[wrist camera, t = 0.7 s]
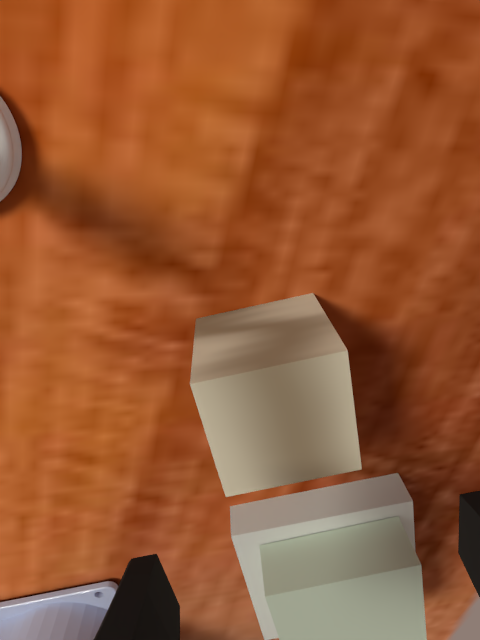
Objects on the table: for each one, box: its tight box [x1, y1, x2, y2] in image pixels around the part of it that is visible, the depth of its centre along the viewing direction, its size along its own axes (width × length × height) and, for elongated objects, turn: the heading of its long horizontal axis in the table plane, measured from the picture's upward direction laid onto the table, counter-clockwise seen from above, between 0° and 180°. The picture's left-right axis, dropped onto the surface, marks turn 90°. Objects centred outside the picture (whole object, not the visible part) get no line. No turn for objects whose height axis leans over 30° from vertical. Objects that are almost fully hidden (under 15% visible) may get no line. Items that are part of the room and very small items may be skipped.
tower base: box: [230, 473, 415, 640], centre depth 23 cm, size 9×9×2 cm
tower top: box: [260, 516, 427, 640], centre depth 21 cm, size 7×7×2 cm
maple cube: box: [190, 293, 362, 497], centre depth 16 cm, size 5×5×5 cm
